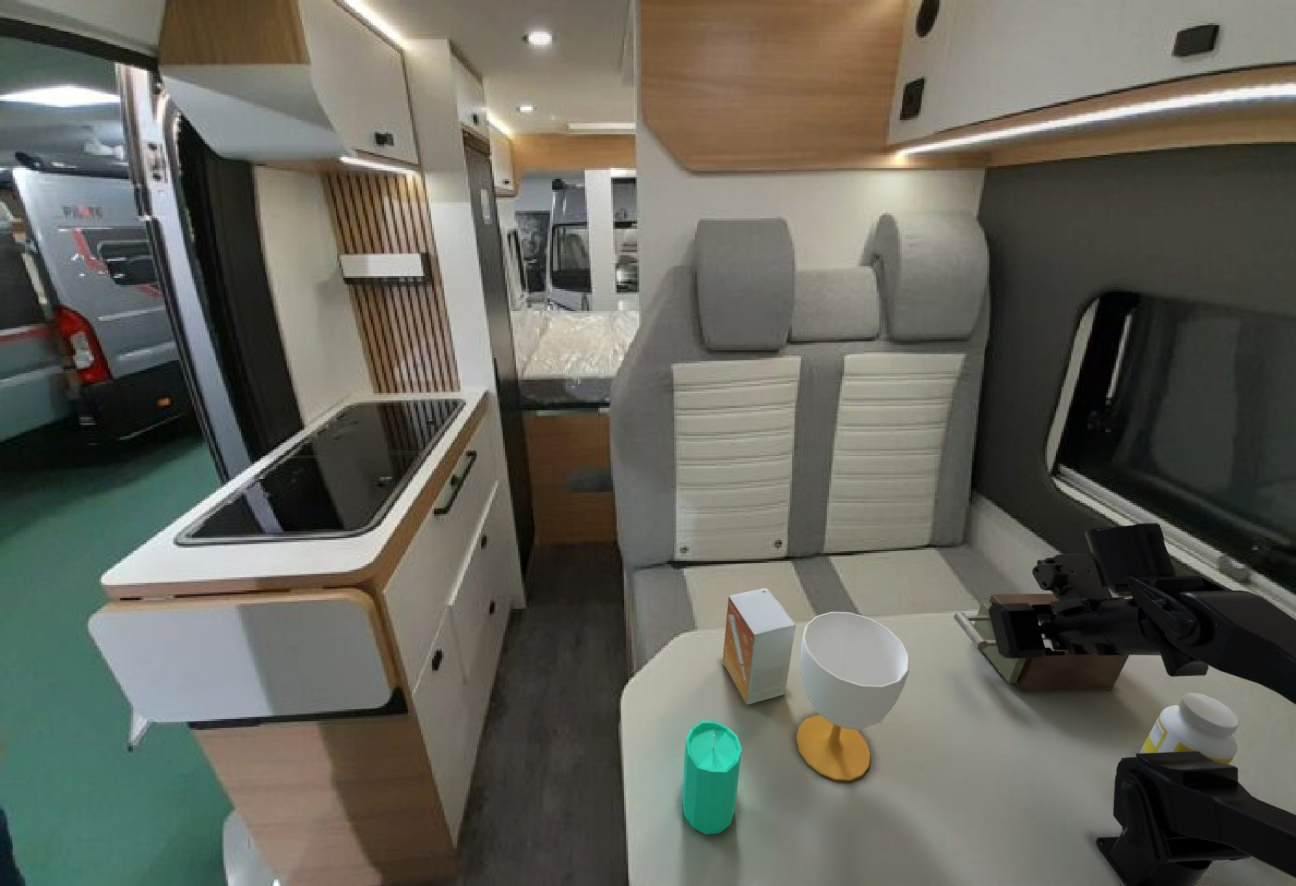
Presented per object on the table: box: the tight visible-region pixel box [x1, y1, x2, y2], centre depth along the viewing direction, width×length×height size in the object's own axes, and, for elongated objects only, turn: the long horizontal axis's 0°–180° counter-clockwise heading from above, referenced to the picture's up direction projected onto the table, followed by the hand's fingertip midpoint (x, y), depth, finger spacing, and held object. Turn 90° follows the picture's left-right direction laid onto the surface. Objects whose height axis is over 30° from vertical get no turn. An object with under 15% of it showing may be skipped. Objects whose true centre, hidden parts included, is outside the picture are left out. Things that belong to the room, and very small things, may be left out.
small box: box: [722, 587, 797, 706], centre depth 76 cm, size 8×6×13 cm
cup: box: [795, 611, 910, 782], centre depth 65 cm, size 12×12×17 cm
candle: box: [681, 720, 743, 835], centre depth 59 cm, size 6×6×12 cm
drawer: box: [953, 601, 1029, 684], centre depth 80 cm, size 18×9×7 cm, turn 92°
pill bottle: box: [1139, 692, 1240, 765], centre depth 63 cm, size 6×6×12 cm
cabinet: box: [988, 593, 1130, 692], centre depth 80 cm, size 14×11×9 cm
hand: (1024, 630), depth 72 cm, fingers closed
